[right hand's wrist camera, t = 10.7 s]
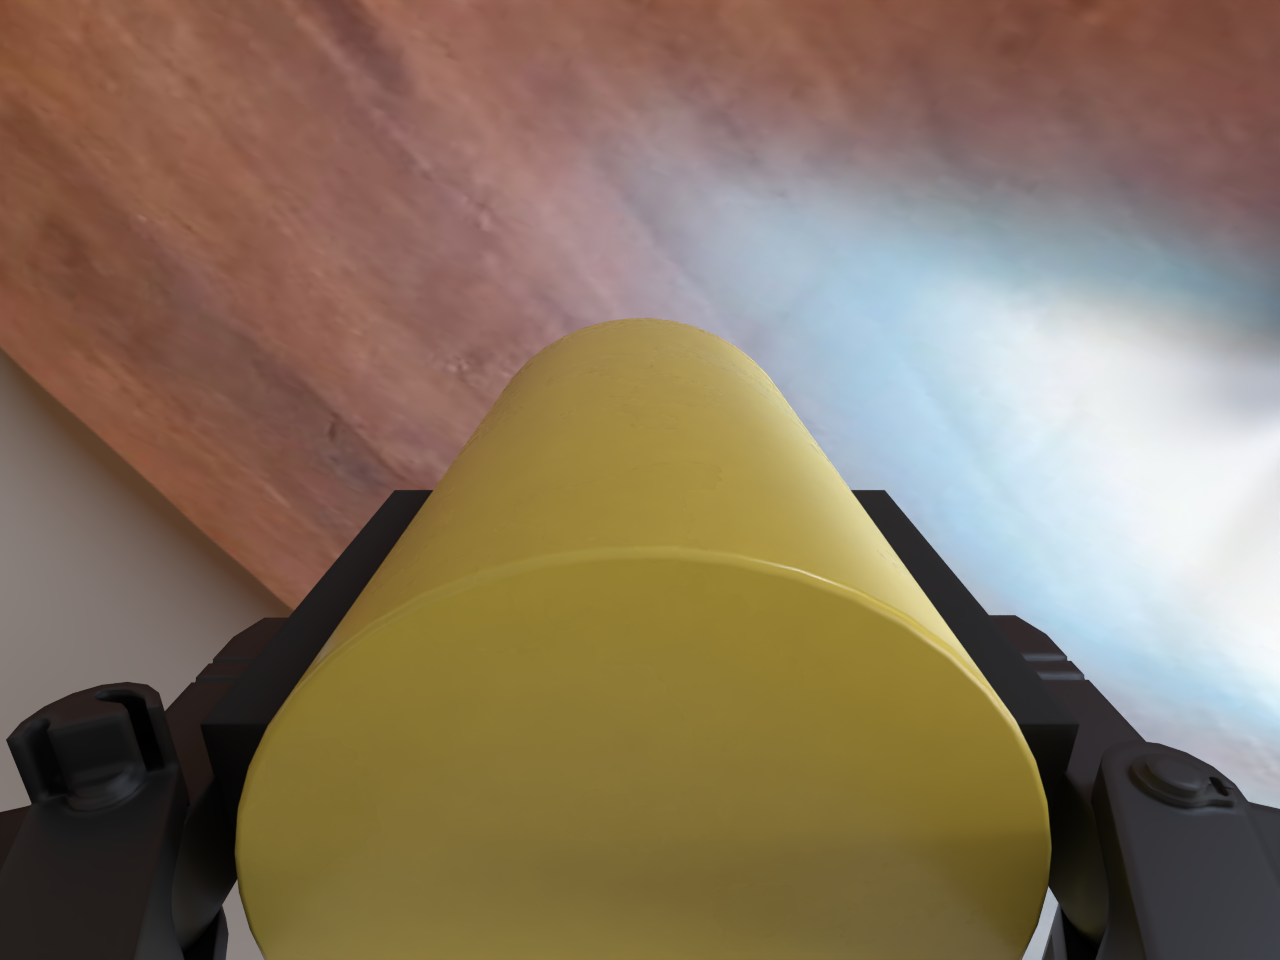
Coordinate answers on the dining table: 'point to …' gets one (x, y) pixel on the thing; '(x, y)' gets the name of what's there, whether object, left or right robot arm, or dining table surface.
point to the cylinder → (642, 705)
